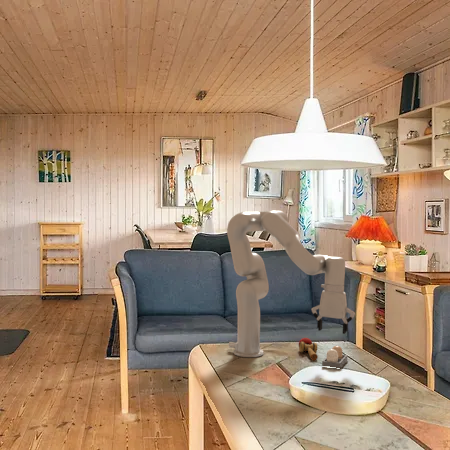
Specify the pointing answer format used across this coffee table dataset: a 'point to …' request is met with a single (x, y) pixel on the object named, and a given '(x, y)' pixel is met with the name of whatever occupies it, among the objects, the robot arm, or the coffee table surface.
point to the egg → (332, 355)
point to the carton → (341, 359)
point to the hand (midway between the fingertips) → (332, 331)
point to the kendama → (308, 347)
